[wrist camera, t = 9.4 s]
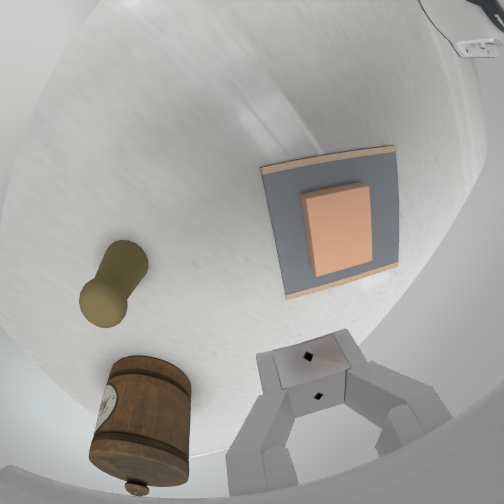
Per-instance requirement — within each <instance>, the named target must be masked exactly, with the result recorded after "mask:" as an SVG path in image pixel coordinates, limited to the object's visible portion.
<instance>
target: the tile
mask: <svg viewBox="0 0 504 504" xmlns="http://www.w3.org/2000/svg"><path fill="white" fill-rule="evenodd" d="M300 201H301V207H302V213H303V219H304V226H305V233H306V240H307V247H308V254H309V262H310V268H311V270H312V271H313V273H314V274H315V276H316V277H318V276H321V275H325V274H328V273H332V272H335V271H339V270H342V269H346V268H349V267H352V266H356V265H359V264H363V263H366V262H369V261H372V228H371V208H370V193H369V186H367V185H365V184H363V183H360V182H356V183H351V184H346V185H341V186H336V187H331V188H326V189H321V190H317V191H312V192H307V193H303V194H300Z"/></svg>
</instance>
